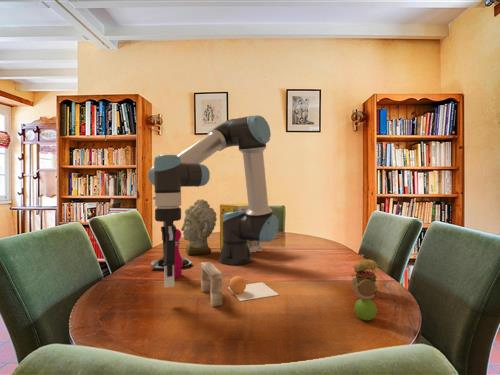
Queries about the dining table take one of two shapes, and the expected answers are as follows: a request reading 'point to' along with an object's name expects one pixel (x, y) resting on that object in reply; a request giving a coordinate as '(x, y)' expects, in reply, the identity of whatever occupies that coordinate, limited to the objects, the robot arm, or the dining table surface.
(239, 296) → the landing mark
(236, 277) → the ball
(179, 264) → the pepper mill
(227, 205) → the packaging box
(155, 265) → the salad plate
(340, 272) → the dining table surface
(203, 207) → the buddha head
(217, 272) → the bridge
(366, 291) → the snail figurine
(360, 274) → the hamburger
